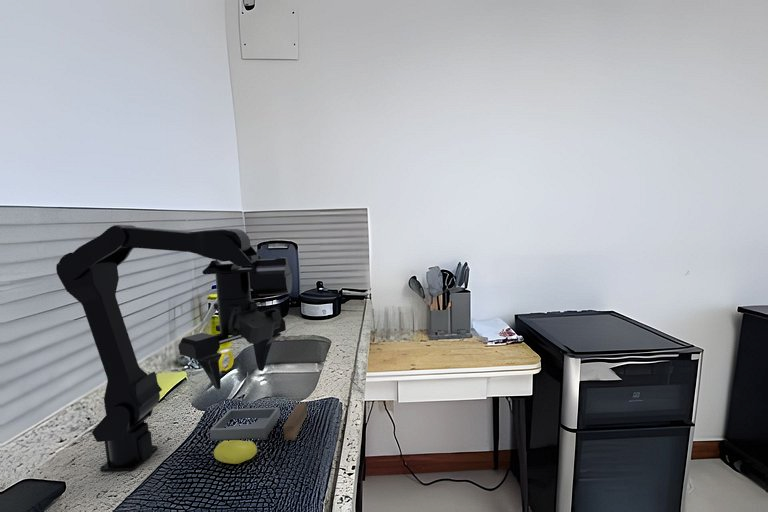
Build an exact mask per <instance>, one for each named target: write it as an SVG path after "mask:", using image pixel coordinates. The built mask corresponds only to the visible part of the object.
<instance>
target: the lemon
mask: <svg viewBox="0 0 768 512" xmlns="http://www.w3.org/2000/svg"><path fill="white" fill-rule="evenodd" d="M257 453H258V447H257V445H256V444H255V442H254V441H242V440H229V441H228V440H225V441H222V442H219V444H218V445H217V446H216V447H215V448H214V450H213V457H214V458H215V459H216V460H217V461H219V462H221V463H225V464H234V465H236V464H241V463H243V462H246V461H248V460H251V459H253V457H255V456H256V454H257Z"/></svg>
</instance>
